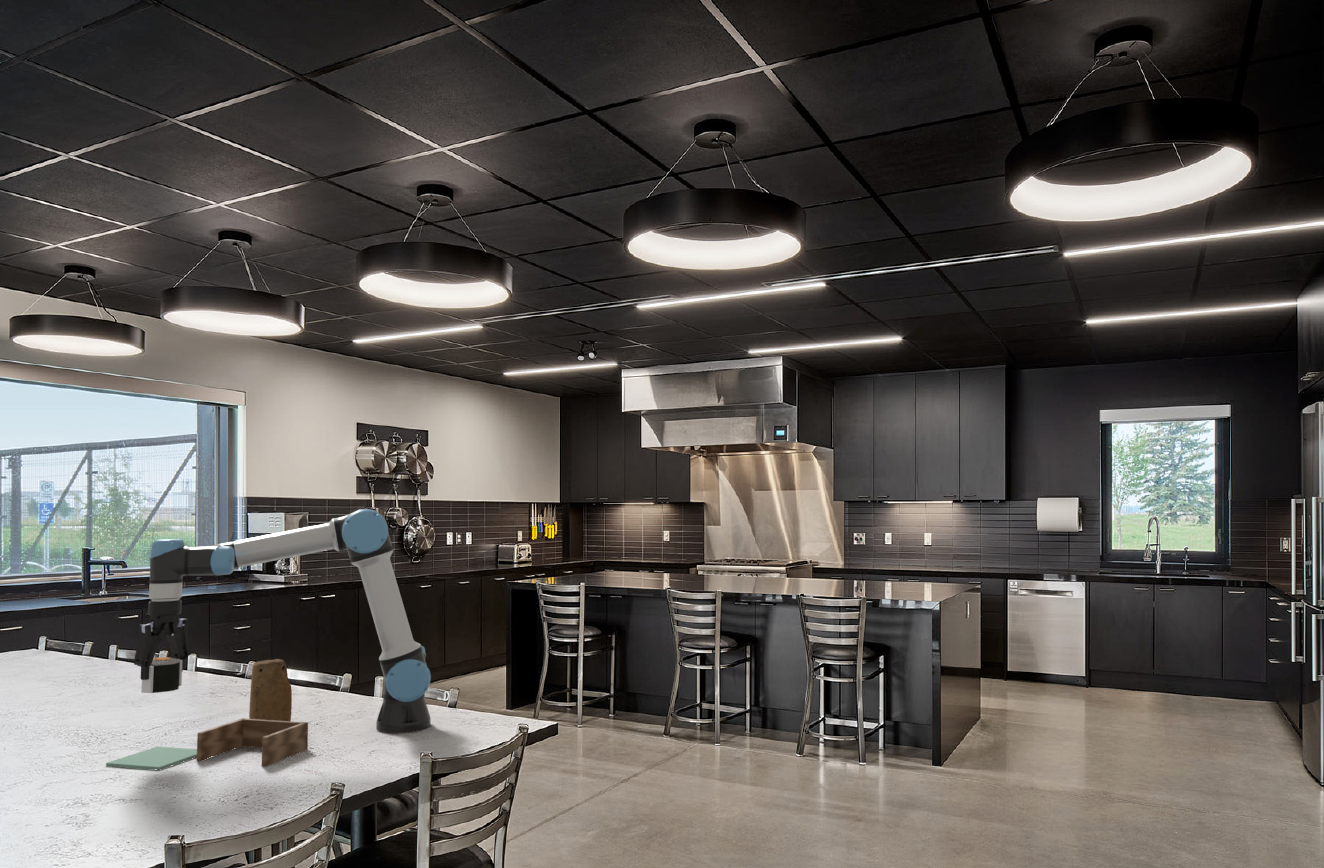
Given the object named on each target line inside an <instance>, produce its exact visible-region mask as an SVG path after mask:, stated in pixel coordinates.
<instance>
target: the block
mask: <svg viewBox="0 0 1324 868" xmlns="http://www.w3.org/2000/svg"><path fill="white" fill-rule="evenodd" d="M250 679H251V680H250V692H249V693H250V697H249V713H248V714H249V715H248V717H249V718H248V719H260V720H276V721H291V720H292V707H293V706H292V705H293V704H292V703H293V702H292V701H293V698H292V697H293V695H292V689H293V688H292V685H291V682H290V681H289V677H288V670H287V664H286V661H285V660H283V659H279V658H276V659H265V660H260V661H258V660H257V661H255V662H254V663H253V664H252V670H251V678H250Z"/></svg>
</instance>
